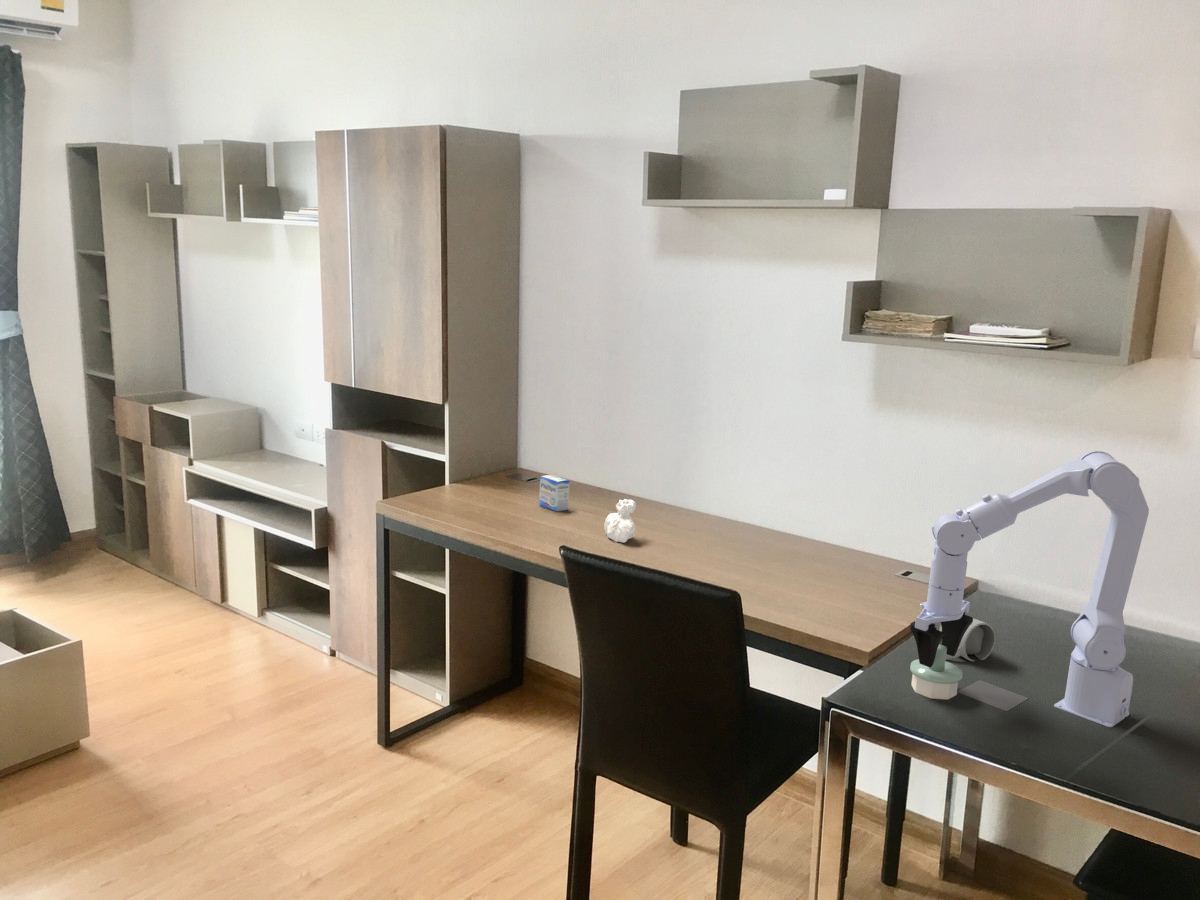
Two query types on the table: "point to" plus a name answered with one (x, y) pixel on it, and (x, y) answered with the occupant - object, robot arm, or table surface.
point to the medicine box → (554, 493)
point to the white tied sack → (621, 522)
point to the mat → (993, 695)
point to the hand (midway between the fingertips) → (937, 659)
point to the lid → (937, 669)
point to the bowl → (934, 688)
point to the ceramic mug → (975, 641)
